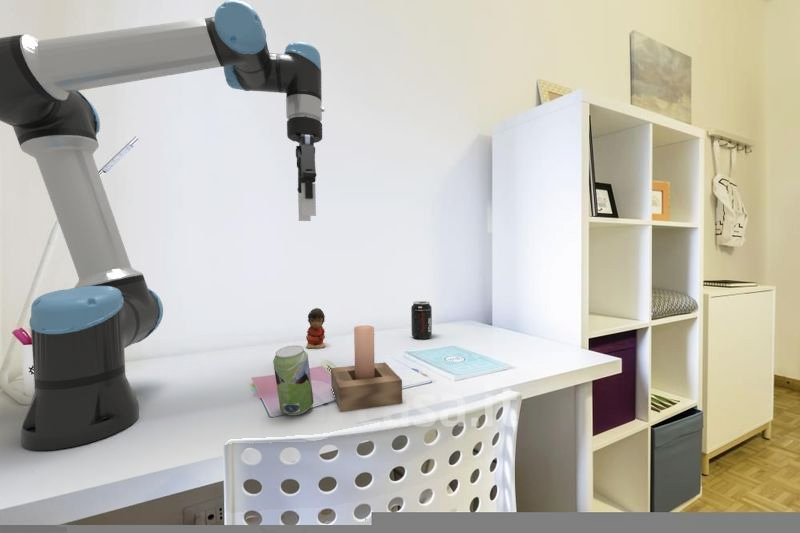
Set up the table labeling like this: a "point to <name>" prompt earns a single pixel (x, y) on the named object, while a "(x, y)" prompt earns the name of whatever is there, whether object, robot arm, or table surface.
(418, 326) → the beverage can
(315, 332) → the figurine
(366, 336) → the dowel
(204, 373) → the table surface
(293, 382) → the beverage can
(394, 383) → the socket block
